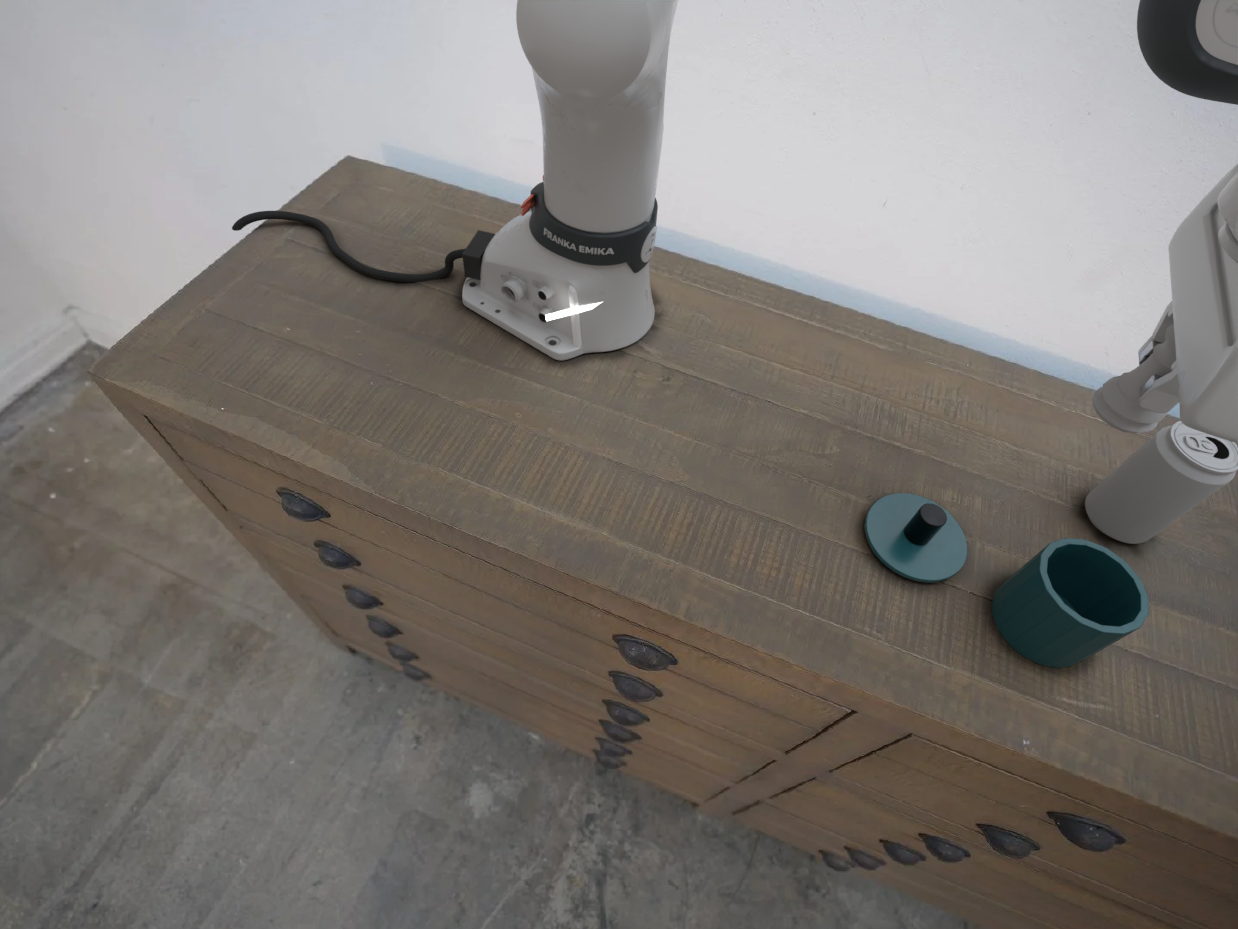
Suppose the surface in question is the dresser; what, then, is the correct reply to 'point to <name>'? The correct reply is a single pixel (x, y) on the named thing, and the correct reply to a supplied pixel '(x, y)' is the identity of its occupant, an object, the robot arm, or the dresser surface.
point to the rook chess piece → (1135, 391)
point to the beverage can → (1161, 483)
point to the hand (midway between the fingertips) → (1149, 383)
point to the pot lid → (915, 537)
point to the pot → (1069, 603)
